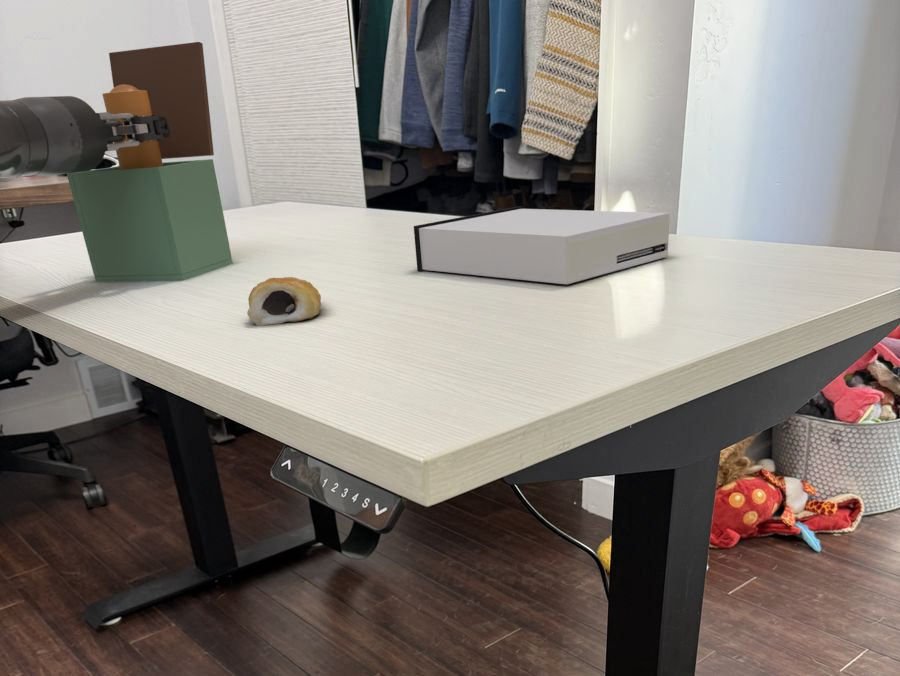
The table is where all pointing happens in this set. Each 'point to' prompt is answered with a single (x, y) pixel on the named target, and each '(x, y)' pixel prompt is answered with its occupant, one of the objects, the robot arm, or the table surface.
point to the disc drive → (542, 243)
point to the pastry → (283, 301)
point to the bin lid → (171, 93)
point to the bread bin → (152, 221)
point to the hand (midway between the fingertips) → (146, 129)
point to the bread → (121, 103)
